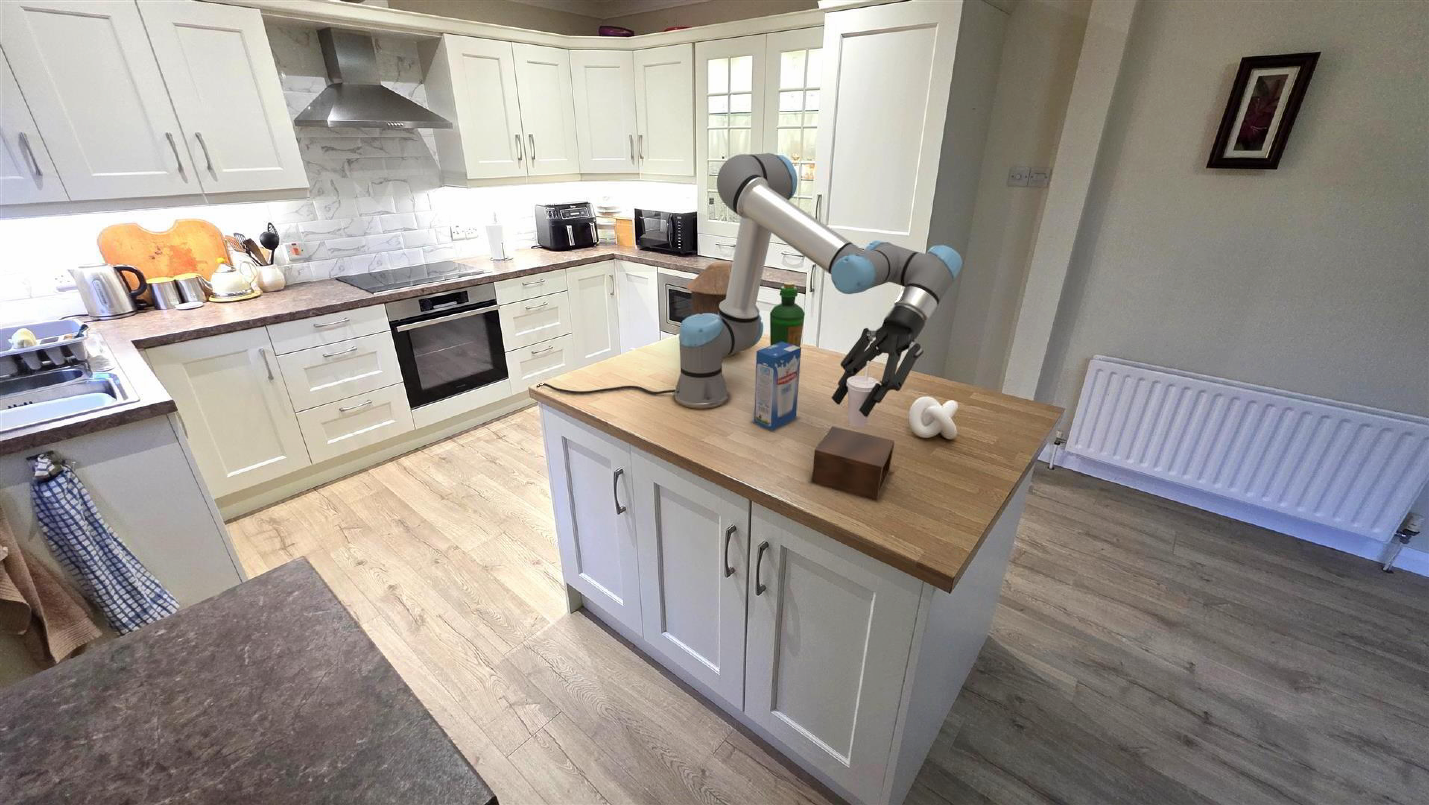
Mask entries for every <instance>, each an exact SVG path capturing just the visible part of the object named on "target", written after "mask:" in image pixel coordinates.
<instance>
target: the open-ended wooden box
mask: <svg viewBox="0 0 1429 805" xmlns="http://www.w3.org/2000/svg"><path fill="white" fill-rule="evenodd" d="M894 446H895V440H893V439H890V438H885V437H881V436H876V435H872V434H869V433H864V432H858V431H855V430H851V429H847V428H842V427H837V426H833V425H831V426H830V428H829V429H828V431H827V432H826V433H825V435H824V436H823V438H822V439H821V440H820V442H819V443H818V445H817V446H816V447H815V449H814V454H813V464H812V473H811V474H812V475H811V483H813V484H816V485H820V486H823V487H827V488H831V489H834V490H837V491H841V492H844V493H848V494H852V495H855V496H859V497H863V498H866V499H870V500H872V501H878V498H879V496H880V494H881V492H882V490H883V488H884V486H885V483H886V481H887V479H888V476H889V475H890V470H891V466H892V458H893V452H894Z"/></svg>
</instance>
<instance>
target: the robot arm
mask: <svg viewBox="0 0 1429 805" xmlns="http://www.w3.org/2000/svg"><path fill="white" fill-rule="evenodd" d="M797 188H798V174H797V171H796V168H795V167H794V164H793V163H792V161H791V160H790V159H789V157H786V156H784V155H782V154H778V153H771V152H766V153H753V154H751V153H750V154H749V153H748V154H747V153H744V154H743V153H742V154H736V155H733V156H731V157H730V158H728V159H727V160H726V161H725V162H723V164H722V165H721V166H720V168H719V171H718V173H717V177H716V190H717V193H718V196H719V197H720V199H721V201H722V202H723V204H724V205H725V206H726V207H727V208H728V209H729V210H731V212H733V213H734V214H736V215H737V216H739V217H740V220H739V225H738V231H737V236H736V242H735V247H734V253H733V258H732V262H731V263H732V268H731V274H730V279H729V285H728V290H727V295H726V299H725V300H723V301H722V302H720V304H719V309H718V315H716V314H711V313H703V314H696V315H692V314H691V315H690V316H688V317H686V318H684V319H683V320H682V321H681V323H680V325H679V334H678V341H679V366H680V372H679V373H680V374H679V377H678V380H677V383H676V386H675V389H665V390H660V391H654V390H653V391H652V390H649V389H647V388H645V387H642V386H639V385H621V386H613V387H607V388H600V389H592V390H570V389H563V388H559V387H556V386H553V385H551V384H549V383H546V382H541V383H539V384H537V385H536V386H535V388H537V389H539V388H541V387H547V388H549V389H551V390H554V391H556V392H560V393H566V394H574V395H587V394H596V393H603V392H612V391H618V390H625V389H635V390H640V391H643V392H645V393H647V394H650V395H662V394H672V393H674V400H675V402H676V403H677V404H679V406H683V407H684V408H689V409H695V410H706V409H707V410H708V409H715V408H718V407H720V406H722V405H724V404H725V403H727V401H728V399H729V390H728V387H727V383H726V380H725V377H724V374H723V359H724V358H727V357H729V356H732V355H735V354H738V353H741V352H744V351H748V350H749V349H751V348H752V347H754V346H756V345H757V344H758V343H759V342H760V341H761V338H762V336H763V333H764V322H763V321H762V317H761V314H760V311H761V310H760V309H759V307H758V306H757V301H758V296H759V292H760V287H761V282H762V278H763V274H764V268H765V265H766V260H767V255H768V251H769V246H770V242H771V237H772V234H773V235H774V236H775V237H777V238H778V239H780V240H781V241H782V242H784V243H785V244H787V245H788V246H790V247H791V248H793V249H794V250H795V251H797V252H798V253H799V254H801V255H802V256H804V257H805V258H806V259H808V260H810V261H811V262H812V263H814V264H815V265H816V266H818V267H819V268H821V269H822V270H823V271H825V272H826V273H828V274H829V275H830V280H831V282H832V283H833V286H834V287H835V289H836V290H837V291H839V292H840V293H841V294H845V295H853V294H859V293H863V292H866V291H868V290H870V289H873V288H875V287H878V286H881V285H885V284H888V283H892V284H895V285H899V286H901V287H904V288H903V289H902V291H901V292H900V294H899V296H898V297H897V299H896V300H895V301H894V304H893V306H891V308H890V309H889V311H888V313H886V316H885V317H884V319H883V322H882V325H880V327H878V328H877V329H876V330H870V329H869V328H868V327H865V328H863V330H862V331H861V334H860V337H859V338H858V339H857V341H856V342H855V344H854V345H853V347H852V348H851V349H850V350H849V351H848V353H847V354H846V355H845V357H844V358H843V359H842V361H841V362H840V366H841V368H842V369H843V370H844V372H843V374H842V376H841V377H840V378H839V380H838V383H837V385H838V387H837V388H836V390H835V391H834V393H833V394H832V396H831V400H833V402H834V403H835V404H836V405H839V406H840V405H841V403H842V402H843V400H844V399H845V397H846V396H847V395H848V387H847V385H846V383H847V379H848V378H849V377H852V376H857V374H858V373H860V372H861V371H862V370H863V369H864V368H866V366H867V361H870V363H871V362H872V361H873V360H874V359H875V358H876V357H879V356H881V355H882V354H887V355H888V356H887V358H886V359H887V360H886V364H885V367H884V371H883V374H882V378H881V380H879V384H878V383H876V384H875V386H874V388H873V389H872V391H871V392H870V394H869V395H868V397H867V398H866V400H865V401H864V403H863V405H862V406H861V408H860V409H859V411H860V412H861V413H862V414H863V415H864V416H865V417H868V415H869V414H871V412H872V410H873V409H874V407H875V406H876V404H881V403H882V402H883V400H884V398H885V397H886V395H887V393H888V392H890V391H895V392H899V391H901V390H902V387H903V385H904V384H905V381H907V378H908V376H909V374H910V372H911V371H912V369H913V367H914V365H915V363H916V361H917V360H918V359H919V358H920V357H921V356H922V355H923V354H924V350H923V347H922V346H921V344H920V343H919V342H918V343H917V342H916V343H915V340H916V339H917V338H918V337H919V335H920V334H921V332H922V331H923V329H924V327H925V325H926V324H925V323H927V322H928V321H929V319H930V318H931V316H932V315H933V313H934V311H935V310H936V308H937V307H938V305H939V303H940V302H941V301H942V299H943V298H944V296H945V295H946V294H947V292H948V290H949V289H950V287H951V286H952V284H954V282H955V279H956V278H957V276H958V274H959V272H960V270H961V269H962V267H963V259H962V257H961V255H960V254H959V253H958V251H956V250H955V249H953V248H951V247H950V246H947V245H943V244H940V245H933V246H931V247H930V248H929V250H928V251H927V252H926V253H924V252H921V251H916V250H913V249H909V248H905V247H903V246H899V245H896V244H894V243H891V242H888V241H881V240H873V241H871V242H869V243H868V245H866V246H865V248H864V249H862V248H861V247H859V246H858V245H856V244H855V243H854V242H851V240H848V239H847V238H846V237H844V236H843V235H841V234H840V233H838V232H837V231H835V230H834V229H832V228H830V227H829V226H828V225H826V224H825V223H823V222H822V221H820V220H819V219H817V218H816V217H814V216H812V215H811V214H810V213H808V212H806V211H805V210H804V209H803V208H800V207H799V206H798V205H797V204H794V203H793V202H791V201H790V200H792V198H793V197H794V196H795V194H796V192H797ZM874 338H875V339H874ZM905 351H907V352H906V353H905V355H904V357H903V358H901V357H902V354H903V352H905ZM901 359H902V361H901V362H900V360H901ZM899 362H900V364H899ZM898 364H899V366H898ZM542 383H544V384H543V385H540V384H542ZM538 385H539V386H538ZM869 416H870V415H869Z"/></svg>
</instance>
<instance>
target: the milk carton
mask: <svg viewBox="0 0 1429 805" xmlns="http://www.w3.org/2000/svg"><path fill="white" fill-rule="evenodd" d="M801 356H802V347H801V346H800V347H798V346H794V345H791V344H788V343H785V342H780V343H777V344H774V345H771V346H770V345H769V346H766V347H764V348H761V349H758V350H756V354H755V382H754V384H755V385H754V408H753V409H754V410H753V412H754V413H753V423H754V424H756V425H758V426H760V427H761V428H765V429H767V430H770V431H773V432H774V431H775V430H778V428H780V427H783V426H784V425H787V424H788V423H790V422H792V421H794V420H797V410H798V409H797V408H798V395H799V386H800V385H799V383H800V372H801V371H800V370H801Z"/></svg>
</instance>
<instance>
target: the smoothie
mask: <svg viewBox="0 0 1429 805" xmlns="http://www.w3.org/2000/svg"><path fill="white" fill-rule="evenodd" d="M870 364H871V362H870V361H867V365H866V366H865V373H864V374H865V375H855V376H852V377H849V378H848V379H847V383H846V385H847V387H848V393H847V401H848V403H847V409H848V410H847V411H848V414H847V416H848V425H849V426H850V427H853V428H857V429H862V428H865V427H867V426H868V421H869V418H870V414H871V413H870V414H869V415H868V417H865V416H864V415H863V414H862V413H861V412H860V411H859V409H860V408H861V406H862V405H863V403H864V401H865V400H866V398H867V397H868V395H869V394H870V392H871V391H872V389H873V388H874V386H875V384H876V383H878V384H880V381H879V380H878V379H876V378H875V377H871V376H869V372H870V371H869V370H870Z"/></svg>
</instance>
